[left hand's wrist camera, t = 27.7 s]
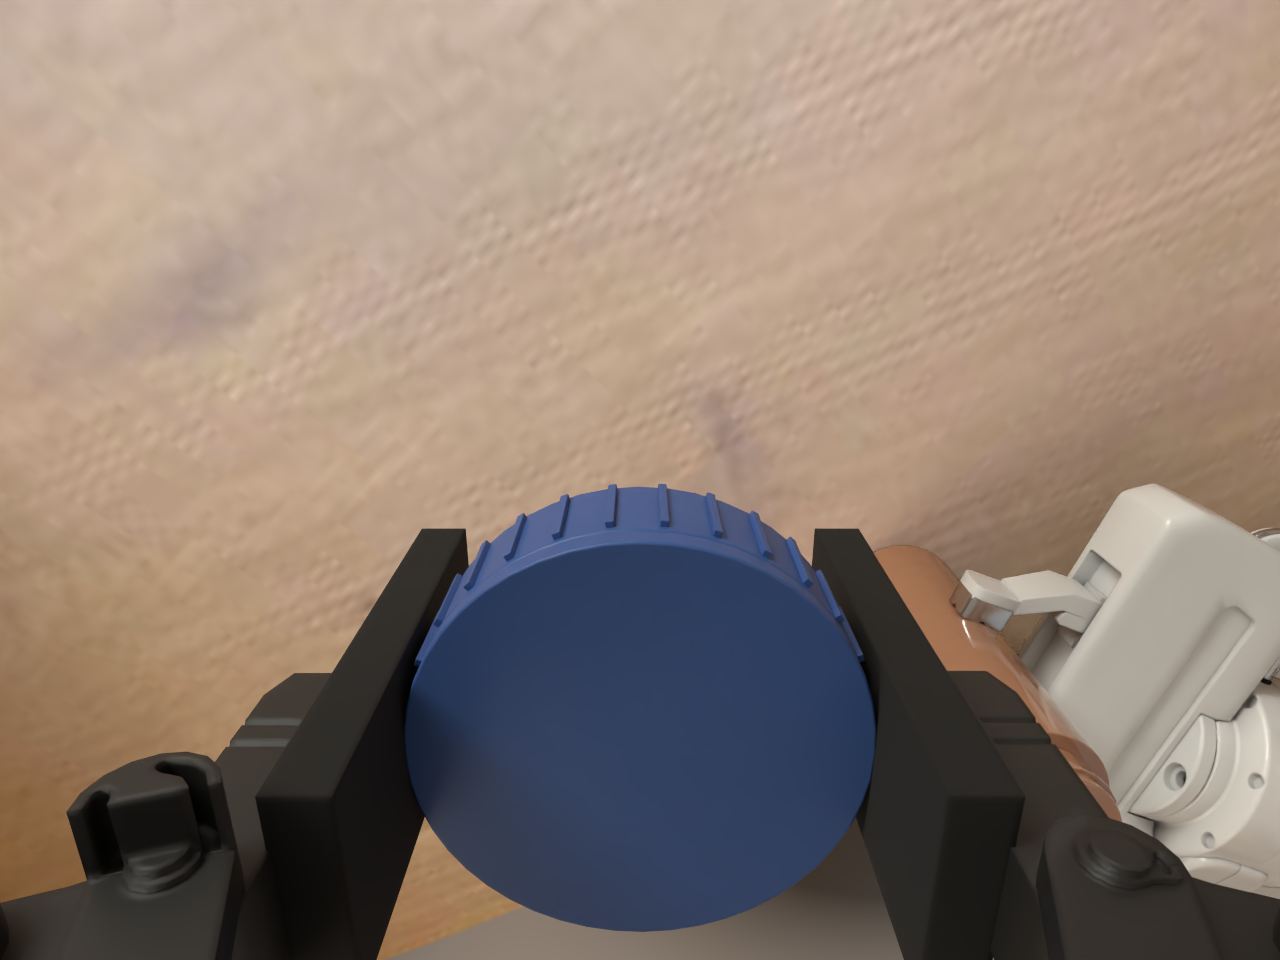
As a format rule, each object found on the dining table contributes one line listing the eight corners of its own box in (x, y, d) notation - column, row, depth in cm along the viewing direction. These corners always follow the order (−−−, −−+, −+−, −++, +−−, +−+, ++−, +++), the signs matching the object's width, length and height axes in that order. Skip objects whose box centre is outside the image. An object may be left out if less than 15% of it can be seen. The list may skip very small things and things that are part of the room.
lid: (834, 836, 13) (863, 935, 12) (451, 840, 13) (422, 939, 12) (866, 477, 11) (907, 533, 9) (409, 483, 11) (366, 539, 9)
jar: (818, 617, 40) (922, 868, 25) (880, 526, 38) (1029, 739, 24) (911, 661, 41) (1063, 929, 26) (976, 574, 39) (1176, 808, 24)
